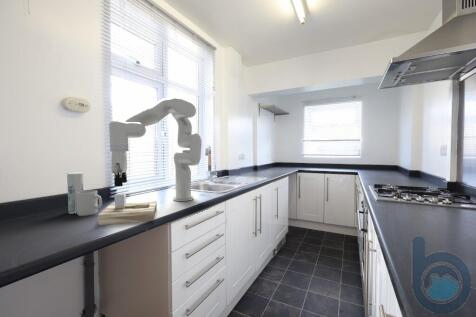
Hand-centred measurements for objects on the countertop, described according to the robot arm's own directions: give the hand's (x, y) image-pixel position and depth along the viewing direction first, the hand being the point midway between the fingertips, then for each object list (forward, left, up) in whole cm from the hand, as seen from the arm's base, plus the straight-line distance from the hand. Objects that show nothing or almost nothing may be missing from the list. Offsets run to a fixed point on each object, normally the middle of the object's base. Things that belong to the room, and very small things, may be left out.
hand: (121, 184), depth 102 cm
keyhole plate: (0, +4, -16) cm, 16 cm away
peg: (0, 0, -16) cm, 16 cm away
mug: (-11, -16, -16) cm, 25 cm away
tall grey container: (-16, -24, -16) cm, 33 cm away
